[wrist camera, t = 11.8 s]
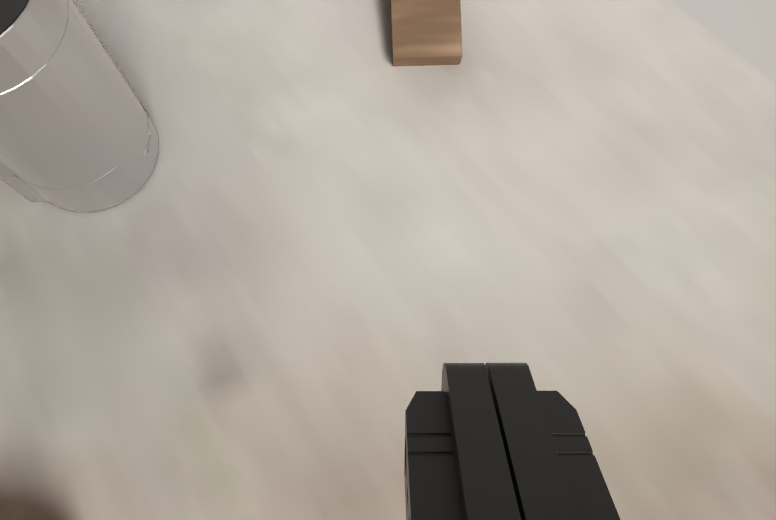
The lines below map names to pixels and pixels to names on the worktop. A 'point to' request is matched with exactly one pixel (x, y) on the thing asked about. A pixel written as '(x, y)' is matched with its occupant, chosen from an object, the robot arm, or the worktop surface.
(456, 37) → the domino
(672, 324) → the worktop surface
